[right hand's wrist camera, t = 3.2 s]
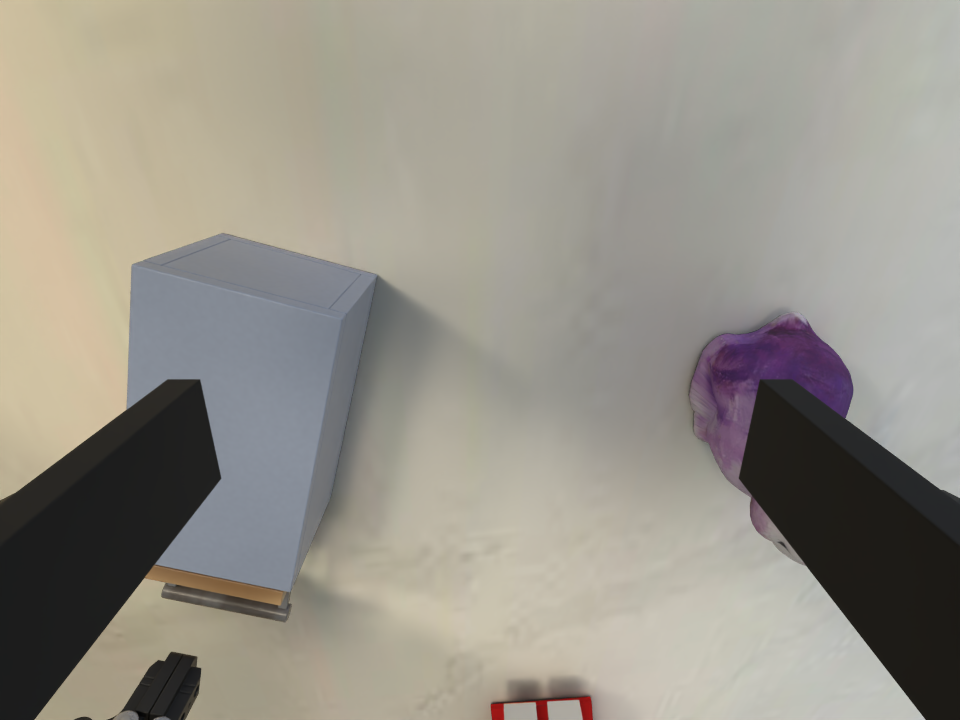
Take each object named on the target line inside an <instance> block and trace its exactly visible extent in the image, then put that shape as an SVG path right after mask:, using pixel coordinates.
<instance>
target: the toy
mask: <svg viewBox="0 0 960 720" xmlns="http://www.w3.org/2000/svg"><path fill="white" fill-rule="evenodd" d="M491 714H492V720H593V716H592V702H591V697H579V698H566V699H553V700H540V701H527V702H514V703H501V704H491Z"/></svg>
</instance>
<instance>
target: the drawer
mask: <svg viewBox="0 0 960 720" xmlns="http://www.w3.org/2000/svg"><path fill="white" fill-rule="evenodd" d="M145 578H147V579H151V580H156V581H161V582H166V584H165V586H164V588H163V590H162V598H166V599H171V600H176V601H181V602H186V603H191V604H196V605H201V606H206V607H211V608H216V609H221V610H226V611H231V612H236V613H241V614H246V615H251V616H256V617H261V618H266V619H271V620H276V621H281V622H287V620H288V617H289V615H290V611H291V607H292V604H290V603H289V599H290V594H291V591H290V592H286V591H281V590H276V589H271V588H267V587H262V586H257V585H252V584H247V583H242V582H237V581H233V580H228V579H223V578H218V577H213V576H208V575H203V574H199V573H194V572H189V571H184V570H179V569H174V568H169V567H165V566H160V565H154V566H153V567H152V569H151V570H150V571H149V573H148V574H147V575H146V576H145Z"/></svg>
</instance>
